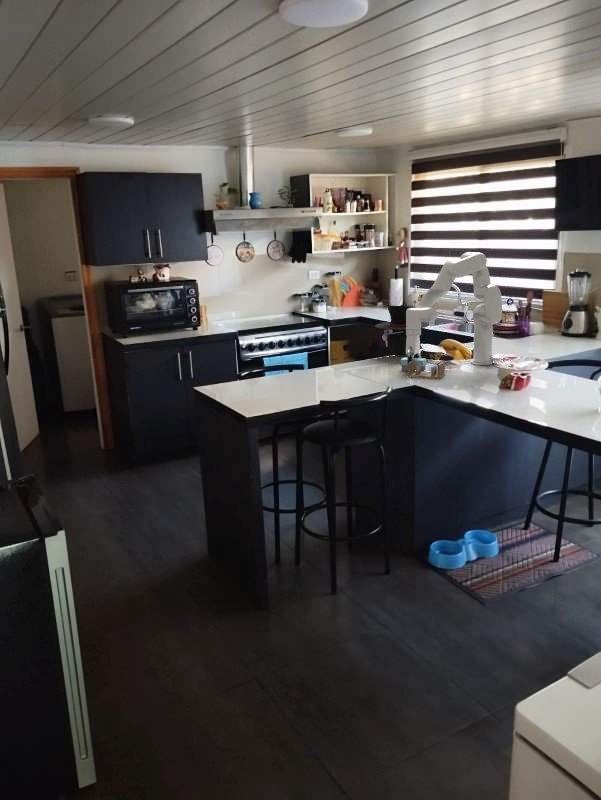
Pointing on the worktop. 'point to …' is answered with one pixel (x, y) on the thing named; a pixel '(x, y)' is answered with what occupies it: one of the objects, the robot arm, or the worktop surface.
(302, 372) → the worktop surface
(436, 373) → the peg cradle
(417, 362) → the shelf board
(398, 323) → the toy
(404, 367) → the riser
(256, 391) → the worktop surface
